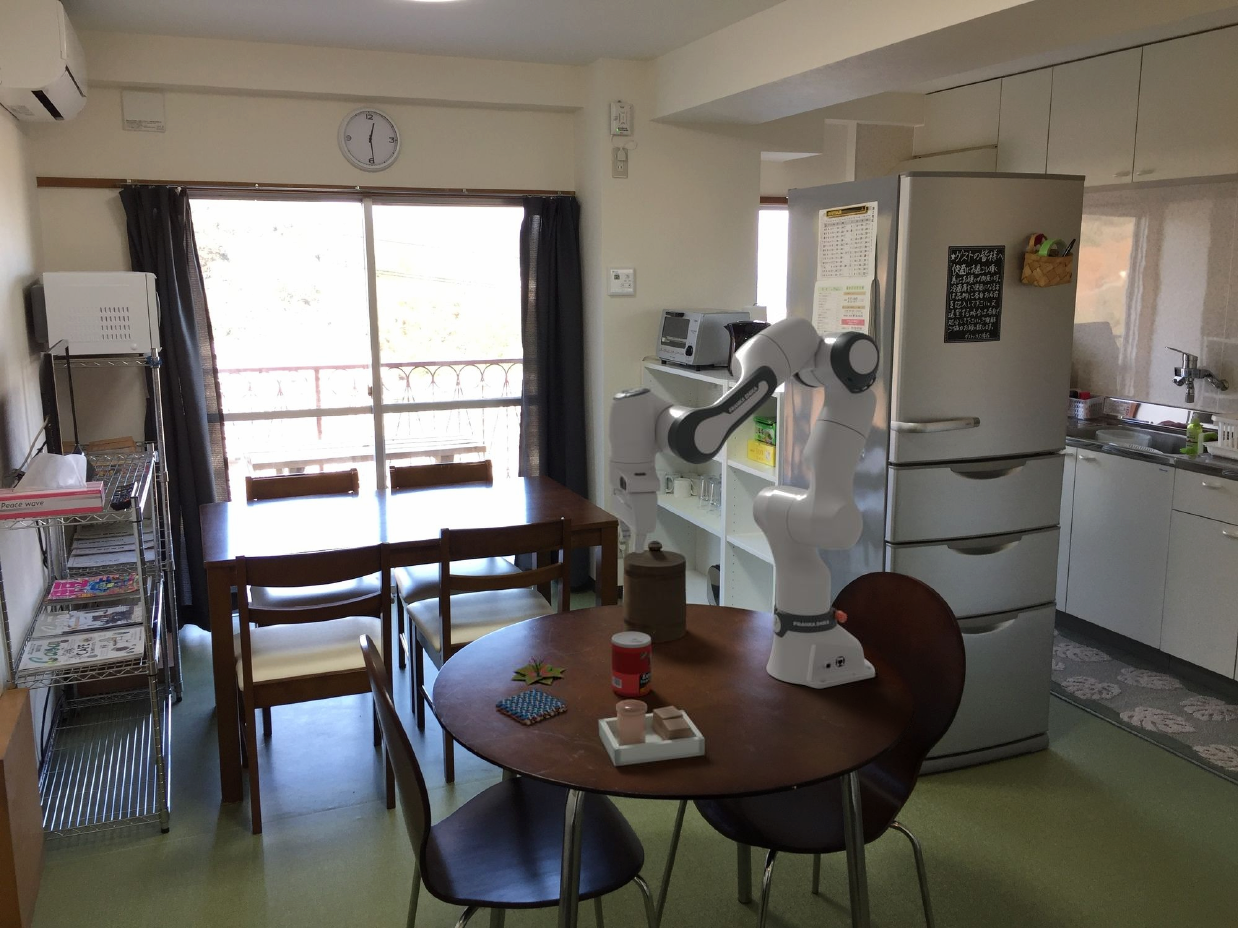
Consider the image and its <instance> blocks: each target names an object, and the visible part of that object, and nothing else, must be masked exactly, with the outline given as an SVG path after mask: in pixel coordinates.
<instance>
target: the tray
mask: <svg viewBox="0 0 1238 928" xmlns="http://www.w3.org/2000/svg"><path fill="white" fill-rule="evenodd" d="M677 710H678V709H677ZM678 711H680V712H681V713H682V714H683V718H684V719H685V720H686V721H687V723H688V724H689V725H690V727H691V738H683V739H675V740H666V741H662V738H661V737H660V736H659V735H658V734H656V733H655V732H654V731H653V712H651V713H646V743H641V744H633V745H625V746H619V745H618V743H617V716H616V717H611V718H610V717H608V718H599V719H598V736H599V738H600V740H601V742H602V744H603V746H604V748H605V750H606V752H607V754H608V756H609V758H610V760H611V761H612V763H613V765H614V766H615V767H618V766H626V765H634V764H643V763H648V762H649V763H650V762H651V763H652V762H658V761H666V760H674V759H681V758H683V759H684V758H691V757H697V756H698V757H699V756H705V750H706V748H705V747H706V746H705V744H706V743H705V742H706V738H705V737H704V736H703V735H702V732H701V731H700V730H699V729H698V728H697V726H696V725H695V724H694V723H693V721H692V720H691V718H689V716H688V715H687V713H686V712H685V710H684V709H679V710H678Z"/></svg>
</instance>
